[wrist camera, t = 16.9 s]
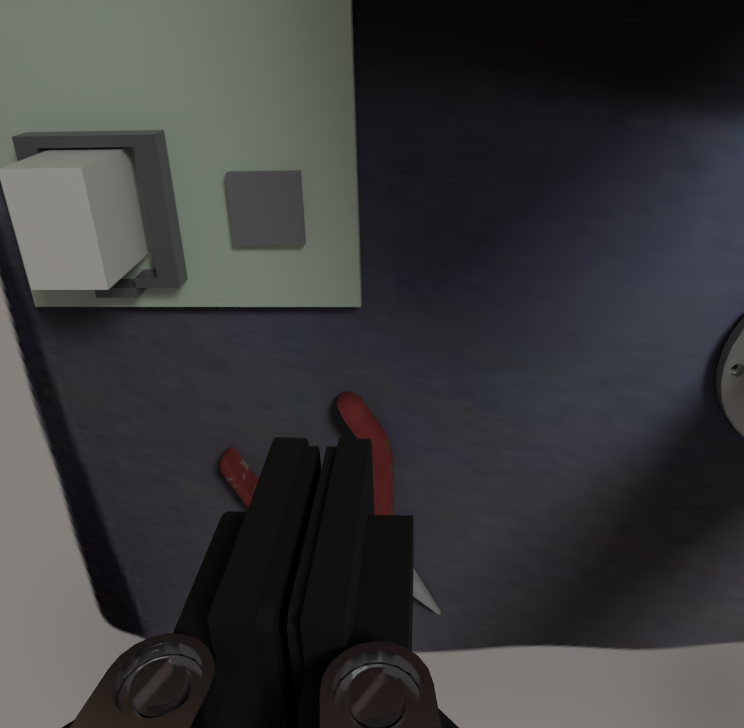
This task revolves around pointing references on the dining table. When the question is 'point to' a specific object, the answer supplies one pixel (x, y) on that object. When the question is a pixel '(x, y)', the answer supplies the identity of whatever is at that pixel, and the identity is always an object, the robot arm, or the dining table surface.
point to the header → (155, 198)
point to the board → (209, 133)
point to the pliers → (370, 428)
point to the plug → (76, 216)
